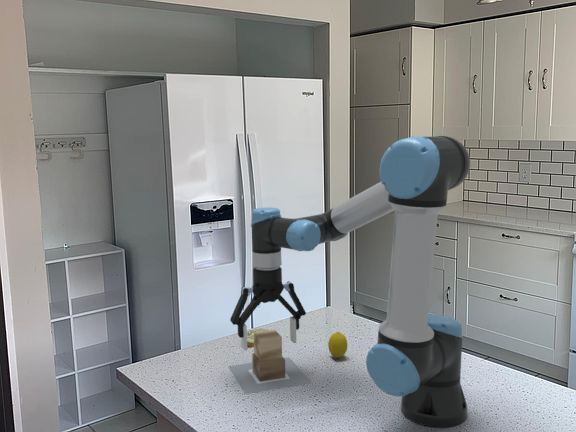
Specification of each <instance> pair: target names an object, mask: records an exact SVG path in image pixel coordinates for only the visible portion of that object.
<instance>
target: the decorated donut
mask: <svg viewBox="0 0 576 432" xmlns="http://www.w3.org/2000/svg"><path fill="white" fill-rule="evenodd" d="M268 330H269V329H267V328H255V329H251V330H249V331H247V349H251V348H254V332H260V331H268Z"/></svg>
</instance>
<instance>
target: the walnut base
mask: <svg viewBox="0 0 576 432" xmlns="http://www.w3.org/2000/svg"><path fill="white" fill-rule="evenodd" d="M251 356H252V357H251V358H252V363H253V372H254V374H255V375H256V376H257V378H258V379H259V381H260V382H261V381H267V380H273V379H279V378H285V359H284V358H285V357H284V356H283V355H282V359H277V360H270V361H263V362H260V361H259V359H258V358H257V357H256V355H255V354H254V352H253V353H252V355H251Z"/></svg>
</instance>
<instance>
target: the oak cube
mask: <svg viewBox="0 0 576 432" xmlns="http://www.w3.org/2000/svg"><path fill="white" fill-rule="evenodd" d="M253 353H254V354H255V355H256V357H257V358H258V359H259V361H260V362H263V361H270V360H277V359H282V356H283V337H282V336H281V335H280V334H279V332H278V331H277V330H276V329H268V331H260V332H254V347H253Z"/></svg>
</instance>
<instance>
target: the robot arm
mask: <svg viewBox="0 0 576 432" xmlns="http://www.w3.org/2000/svg"><path fill="white" fill-rule="evenodd" d="M470 168H471V158H470V155H469V152H468V150H467V148H466V147H465V145H464V144H463V143H462V142H460V141H459V140H458V139H456V138H454V137H451V136H446V135H438V136H420V135H418V136H411V137H407V138H402V139H399V140H397V141H395V142H393V143H392V144H391V145H390V146H389V147H388V148H387V150H385V151H384V154H383V156H382V158H381V160H380V164H379V180H380V182H378V183H375V184H374V185H372V186H370V187H369V188H367V189H365V190H363V191H362V192H359V193H358V194H356V195H354V196H352V197H351V198H348V199H347V200H345V201H343V202H341V203H340V204H337V205H336V206H334V207H332V208H331V209H329V210H327V211H325V212H322V213H319V214H315V215H310V216H304V217H297V218H288V217H287V218H286V217H282V215H281V210H280V209H279V208H277V207H271V206H270V207H257V208H255V209H253V210H251V223H250V227H251V245H252V248H251V250H252V266H253V267H254V268H252V278H253V279H252V282H253V284H252V287H246V286H245V285H244V286H242V287H241V291H240V296H239V298H238V301H237V302H236V306H235V307H234V309H233V312H232V314H231V317H230V320H229V321H230V322H231V323H232V325H234V326H235V325H236V326H237V336H238V337H239V338H241V347H242V349H243V350H244V351H247V350H248V347H247V332H248V329H247V327H248V326H247V325H246V322H247V321H248V320H249V319H250V317H251V316H252V314H253V313H254V312H255V310H256V308H257V307H259V306H260V304H261V303H263V304H266V303H274V302H276V301H279V303H280V304H281V305H283V307H284V308H285V309H286V310H287V311H288V312H289V313H290V314H291V315H292V316H289V327H290V328H289V332H290V333H289V335H290V336H289V337H290V341H291V342H292V343H293V344H297V330H299V329H300V320H301V318H302V316H306V314H307V312H306V310H305V308H304V306H303V304H302V303H301V301H300V299H299V297H298V295H297V293H296V291H295V285H294V284H293V283H292V282H291V281H289V280H288V281H287V282H286V283H283V276H282V275H283V274H282V273H283V272H282V271H283V270H282V267H281V266H282V248H283V249H289V250H294V251H297V252H311V251H314V250H315V248H316V247H318V245H321V244H325V243H329V242H336V241H339V240H341V239H344V238H345V237H347V236H348V234H349V233H350V232H353V231H354V230H356V229H359V228H361V227H363V226H365V225H367V224H369V223H370V222H373V221H376V220H378V219H380V218H381V217H383V216H386V215H387V214H390V213H391V212H393V211H394V218H393V231H392V244H391V257H390V258H391V259H390V269H389V270H390V271H389V284H388V285H389V286H388V296H387V297H388V298H387V309H386V310H387V311H386V319H385V320H383V321H382V322H381V323H380V324H379V326H378V332H377V334H378V335H377V344H374V345H373V346H372V347H371V348H370V350H369V351H368V352H367V355H366V359H365V363H366V364H365V365H366V369H367V372H368V375H369V377H370V379H371V380H372V381H373V382H374V385H375V386H376V387H377V388H378V389H379V390H381V391H382V392H384V393H385V394H387V395H389V396H392V397H399V398H400V397H401V399H400V411H401V413H402V414H403V415H404V416H405V417H406V418H407V419H409V420H410V421H412V422H414V423H417V424H420V425H422V426H423V425H424V426H427V427H434V428H449V427H455V426H457V425H461V424H462V423H464V422H465V421H466V419H467V417H468V403H467V400H466V398H465V394H464V391H463V387H462V384H461V373H462V353H463V352H462V351H463V338H464V336H463V327H462V324H461V323H460V321H459V320H456V319H454V318H452V317H450V316H447V315H446V316H445V315H440V314H433V313H429V312H430V301H431V290H432V279H433V269H434V260H435V259H434V257H435V249H436V247H435V246H436V235H437V226H438V215H439V213H440V212H442V211H443V210H444V209H445V208H446V207H447V205H448V203H447V202H448V192H449V191H450V190H453V189H456V188H458V186H460V185H461V184H462V183H464V181H465V180H466V178H467V177H468V174H470V173H469V172H470ZM284 289H285V291H287V293H288V295H289V297H290V298H291V300H292V302H293V304H294V306H295V308H296V309H297V310H295V308H293V306H292V305H290V303H289V302H287V300H286V299H285V298H284V297H283V296H282V293H283V291H284ZM251 294H253V297H252V298H251V301H250V302H249V304H248V305H247V306H246V308H245V305H246V303H247V300H248V298H249V297H250V296H251ZM244 308H245V309H244ZM243 309H244V310H243Z"/></svg>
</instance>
